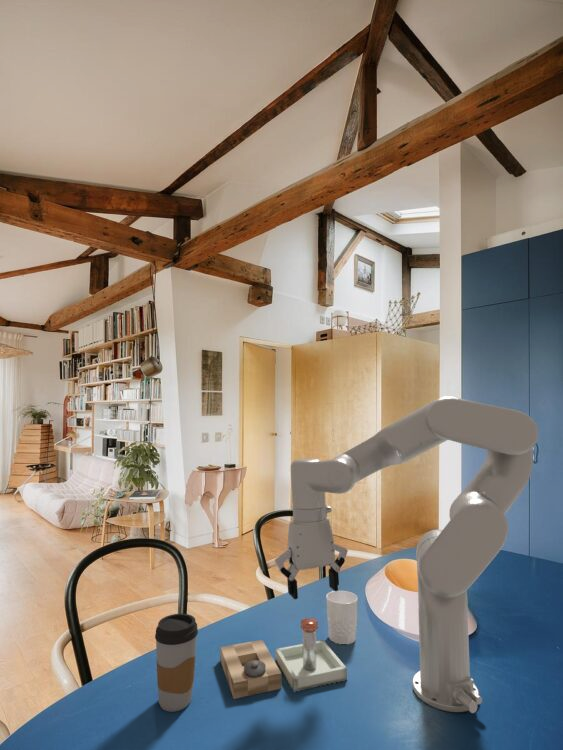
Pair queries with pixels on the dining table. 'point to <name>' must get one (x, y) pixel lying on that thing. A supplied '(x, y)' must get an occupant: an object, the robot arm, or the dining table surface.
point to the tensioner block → (249, 668)
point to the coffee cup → (175, 660)
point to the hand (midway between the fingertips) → (314, 593)
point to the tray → (301, 679)
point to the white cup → (342, 616)
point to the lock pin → (309, 643)
